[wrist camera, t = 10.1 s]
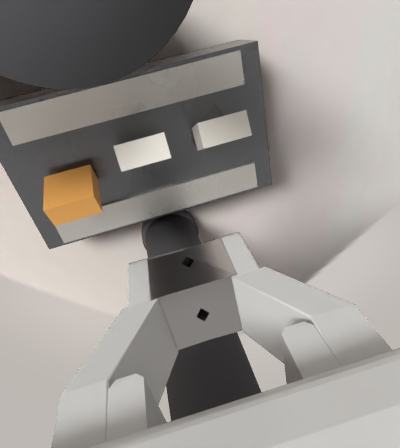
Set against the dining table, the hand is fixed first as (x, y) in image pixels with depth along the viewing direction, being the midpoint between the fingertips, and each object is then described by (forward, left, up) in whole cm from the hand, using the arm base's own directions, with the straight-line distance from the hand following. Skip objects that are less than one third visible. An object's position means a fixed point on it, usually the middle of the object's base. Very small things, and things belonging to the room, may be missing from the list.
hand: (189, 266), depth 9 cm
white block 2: (-3, 0, -11) cm, 11 cm away
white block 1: (+1, 0, -11) cm, 11 cm away
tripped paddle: (+5, 0, -11) cm, 12 cm away
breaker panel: (+1, 0, -14) cm, 14 cm away
